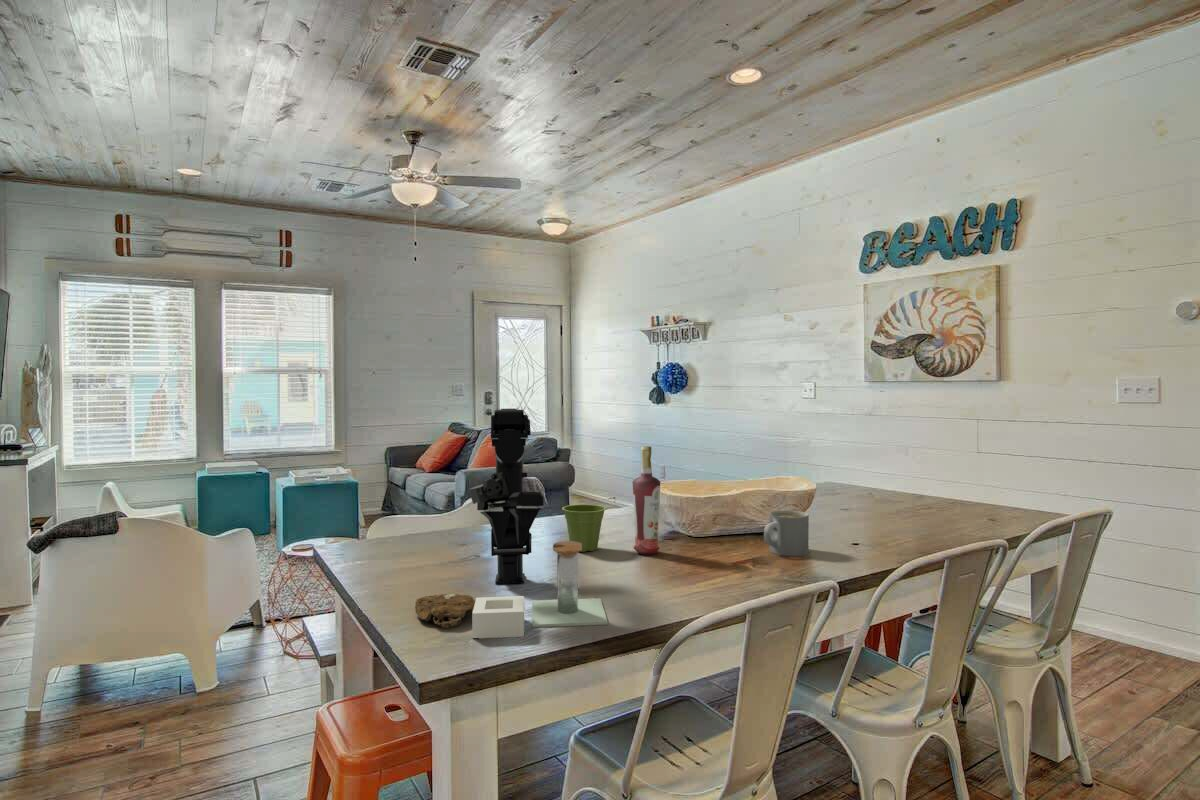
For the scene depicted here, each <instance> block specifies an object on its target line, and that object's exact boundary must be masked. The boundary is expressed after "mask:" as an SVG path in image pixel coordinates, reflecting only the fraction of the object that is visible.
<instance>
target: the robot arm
mask: <svg viewBox="0 0 1200 800" xmlns="http://www.w3.org/2000/svg"><path fill="white" fill-rule="evenodd" d="M490 417H491V418H490V420H491V421H490V440H491V447H492V448H493V447H494V456H495V472H494V473H491V475H490V478H488V479H485V480H483V483H481V484H479V485H476V486H474V487H471V488H469V489H468V492H469V495H470V498H471V502H472V504H473V505H474V504H476V503H477V507H476V510H477V511H480V514H481V515H483V516H484V517H485V518H486V519H487V520H488V522H489V524H490V526H491V530H490V540H491V542H490V543H491V545H490V546H491V547H490V549H491V557H494V556H497V574H496V575H495V581H494V582H495V585H503V584H505V585H507V584H524V583H525V577H526V575H525V574H526V573H524V569H523V568H524V567H523V566H524V564H523V563H524V560H523V558H524V557H523V555H525V556H526V555H528V556H529V554H531V553H532V532H531V531H530V530H531V528H532V526H533V523H534V522H535V519H536V517H537V516H538V514H539V512H540V511H541V510H542V508H540V507H545V496H544V494H543V493H542V492H540V491H524V479H526V478H528V472H524V455H525V454H524V453H525V447H526V445H527V443H526V442H527V440H528V438H529V436H531V419H529V416H528V414H525V411H524V409H517V408H500V409H495V410H494V414H491V415H490Z"/></svg>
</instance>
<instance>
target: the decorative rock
mask: <svg viewBox="0 0 1200 800" xmlns="http://www.w3.org/2000/svg"><path fill="white" fill-rule="evenodd" d="M475 601H476V599H474V598H473V596H471V595H470V594H469V595H468V594H459V593H444V594H443V593H441V594H434V595H428V596H427V595H425V596H422V597H419V598H417V599H416V601H415V607H414V608H415V613H416V615H417V617H418V619H420V620H422V621H424V622H429V621H433V622H434V624H435V625H438V626H439V627H440V628H442V629H446V628H445V627H450V628H453V627H458V626H460V625H461V623H462V619H464V618H465V616H466V615H467V614H468V613H469V611H473V609H474V605H475ZM452 626H453V627H452Z"/></svg>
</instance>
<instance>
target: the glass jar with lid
mask: <svg viewBox="0 0 1200 800" xmlns="http://www.w3.org/2000/svg"><path fill="white" fill-rule="evenodd" d="M552 550H553V552H555V553H557V554H556V557H557V559H556V561H557V563H556V564H557V566H556V567H557V600H558V612H559V613H563V614H572V613H576V612H577V611H578V599H579V561H578V560H579V551H581V550H582V543H580V542H575V541H569V540H564V541H557V542H554V543H553V545H552Z"/></svg>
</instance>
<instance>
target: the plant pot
mask: <svg viewBox="0 0 1200 800" xmlns="http://www.w3.org/2000/svg"><path fill="white" fill-rule="evenodd" d="M561 509H562V511H564V518H565V519H566V520H565V521H566V528H567V532H568V539H569V540H568V541H575V542H580V543H582V550H581V551H579V552H580V553H585V552H587V551H589V552H594V551H596V550H598V546H599V542H600V541H599V540H600V532H601V527H602V521H603V518H604V514H605V511H606V510H607V508H606V507H605V506H604V505H598V504H587V503H586V504H585V503H584V504H582V503H581V504H570V505H565V506H562V508H561ZM579 552H578V553H579Z"/></svg>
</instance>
